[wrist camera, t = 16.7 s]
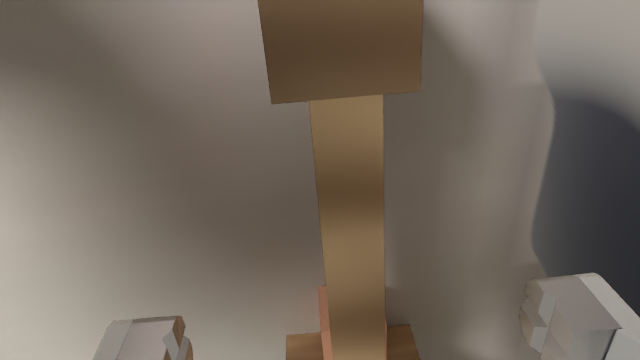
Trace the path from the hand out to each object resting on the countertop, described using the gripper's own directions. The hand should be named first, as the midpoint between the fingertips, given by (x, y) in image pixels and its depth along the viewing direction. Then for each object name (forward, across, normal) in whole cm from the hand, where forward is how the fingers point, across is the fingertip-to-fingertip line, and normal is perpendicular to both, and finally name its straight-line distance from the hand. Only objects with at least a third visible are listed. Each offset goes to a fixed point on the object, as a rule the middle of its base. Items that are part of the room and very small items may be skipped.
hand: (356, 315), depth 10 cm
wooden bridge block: (+15, -1, +6) cm, 16 cm away
